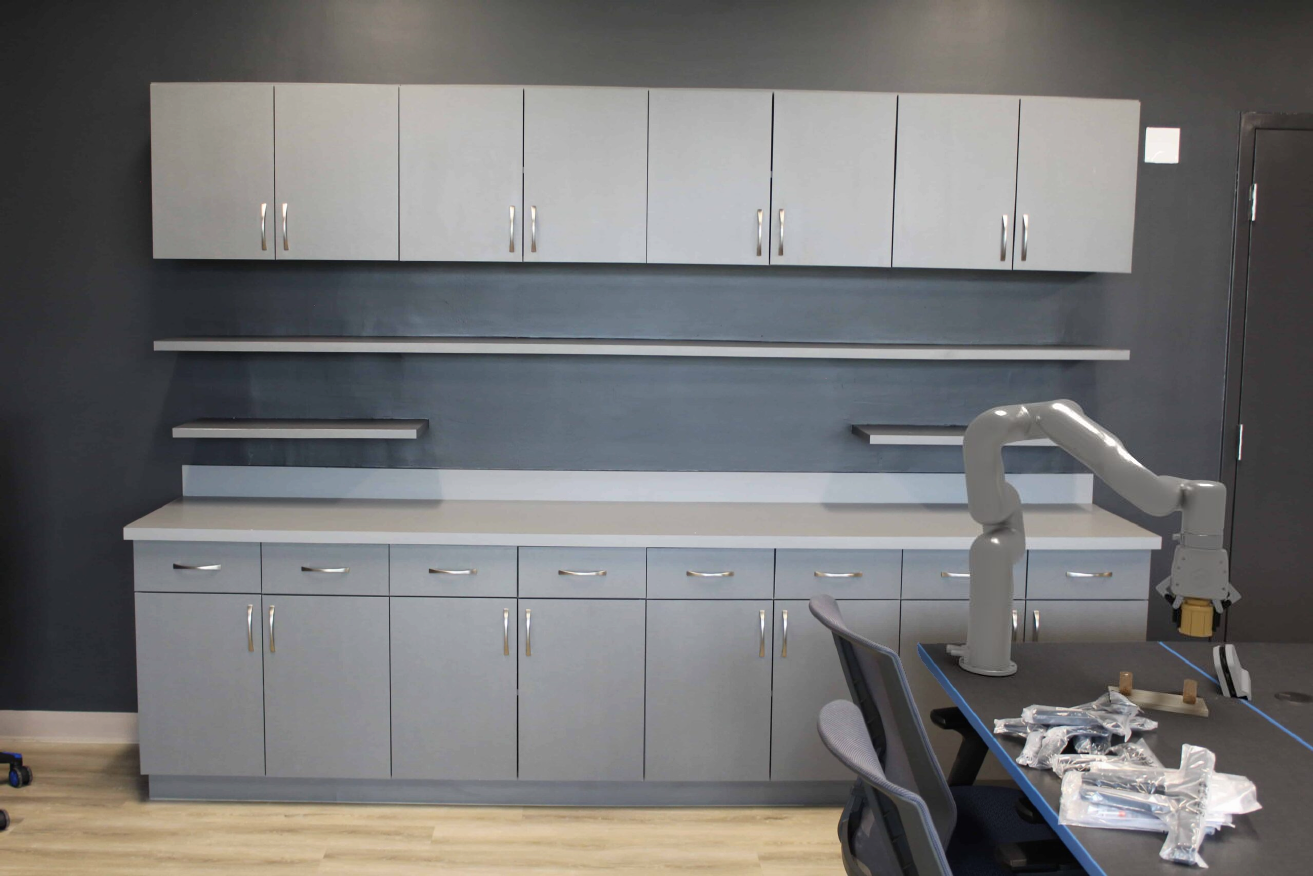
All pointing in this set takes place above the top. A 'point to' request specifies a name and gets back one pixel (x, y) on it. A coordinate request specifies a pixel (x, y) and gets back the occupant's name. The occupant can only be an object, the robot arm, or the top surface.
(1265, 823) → the top surface
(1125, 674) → the post left
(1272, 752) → the top surface
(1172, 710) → the plate
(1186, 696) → the post right
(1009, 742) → the top surface
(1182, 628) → the cap
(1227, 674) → the hinge
